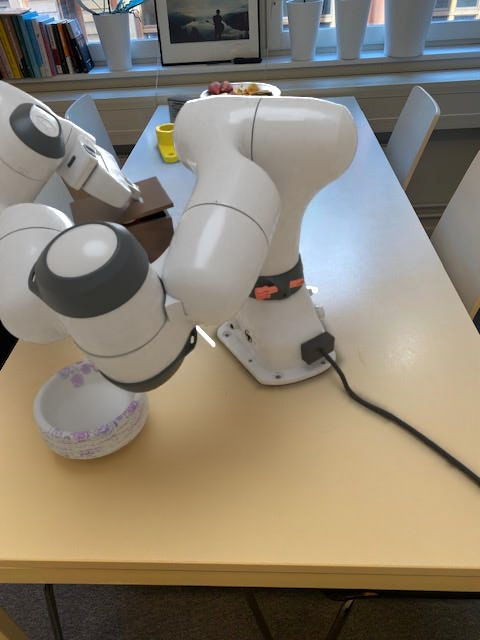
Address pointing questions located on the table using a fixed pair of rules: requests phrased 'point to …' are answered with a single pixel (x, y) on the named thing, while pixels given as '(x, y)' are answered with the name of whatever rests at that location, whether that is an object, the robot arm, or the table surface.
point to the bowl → (240, 89)
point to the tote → (153, 233)
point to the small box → (178, 104)
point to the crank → (166, 142)
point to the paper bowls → (87, 413)
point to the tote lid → (147, 204)
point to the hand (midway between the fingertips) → (138, 193)
